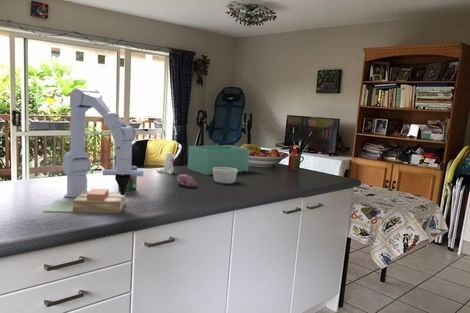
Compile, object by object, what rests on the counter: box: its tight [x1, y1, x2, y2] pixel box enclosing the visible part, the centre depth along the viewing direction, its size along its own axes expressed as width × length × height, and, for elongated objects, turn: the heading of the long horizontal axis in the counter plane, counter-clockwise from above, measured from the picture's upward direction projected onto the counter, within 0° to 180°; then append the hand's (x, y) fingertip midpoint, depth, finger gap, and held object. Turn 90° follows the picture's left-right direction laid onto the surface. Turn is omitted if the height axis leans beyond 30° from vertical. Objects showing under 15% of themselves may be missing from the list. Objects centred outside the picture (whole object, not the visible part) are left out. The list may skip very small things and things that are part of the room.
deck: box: [72, 192, 126, 214], centre depth 144 cm, size 14×16×4 cm
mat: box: [42, 199, 74, 213], centre depth 142 cm, size 15×10×1 cm, turn 8°
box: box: [187, 144, 250, 176], centre depth 242 cm, size 21×32×14 cm, turn 130°
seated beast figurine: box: [156, 151, 176, 175], centre depth 223 cm, size 10×9×12 cm
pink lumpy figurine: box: [176, 174, 198, 188], centre depth 191 cm, size 10×5×7 cm, turn 59°
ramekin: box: [212, 167, 239, 184], centre depth 207 cm, size 13×13×7 cm
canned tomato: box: [117, 164, 138, 194], centre depth 172 cm, size 8×8×11 cm
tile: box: [87, 188, 110, 200], centre depth 144 cm, size 9×6×2 cm, turn 8°
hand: (122, 194), depth 145 cm, fingers closed
